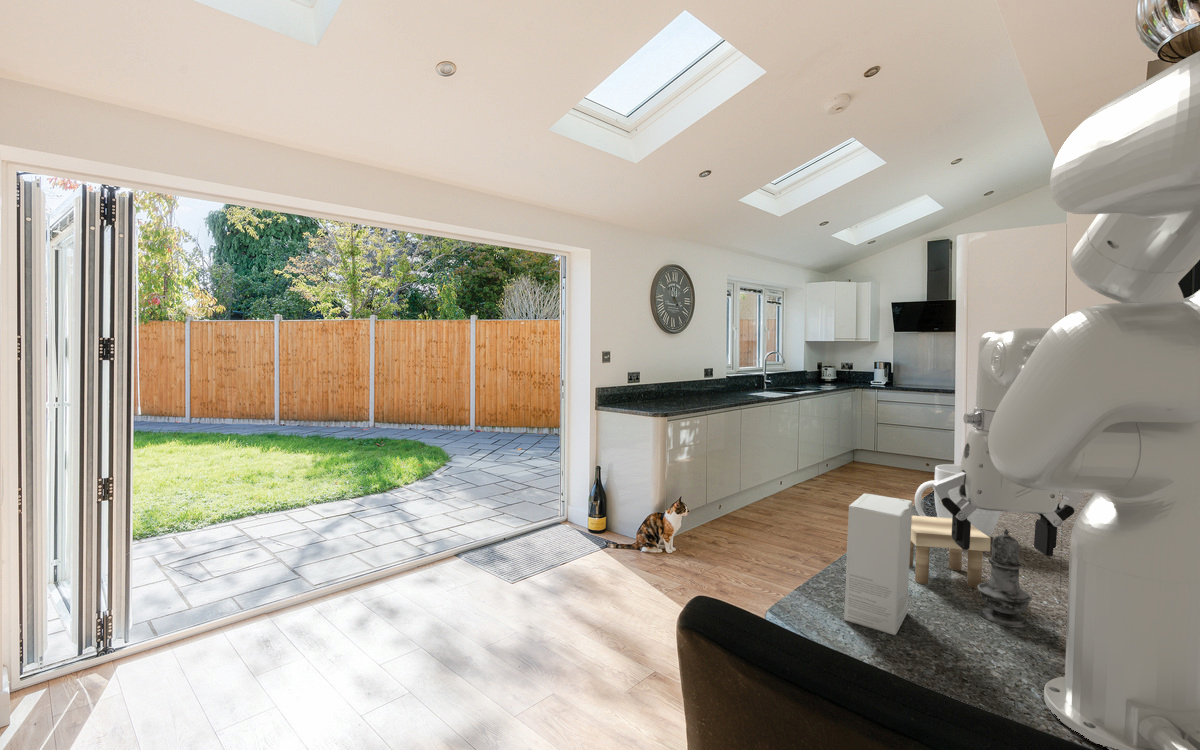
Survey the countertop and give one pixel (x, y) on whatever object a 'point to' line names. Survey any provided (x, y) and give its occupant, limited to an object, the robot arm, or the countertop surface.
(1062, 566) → the countertop surface
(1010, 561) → the salt shaker
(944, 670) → the countertop surface
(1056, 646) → the countertop surface
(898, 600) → the skincare box
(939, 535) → the stool
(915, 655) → the countertop surface
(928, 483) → the mug
